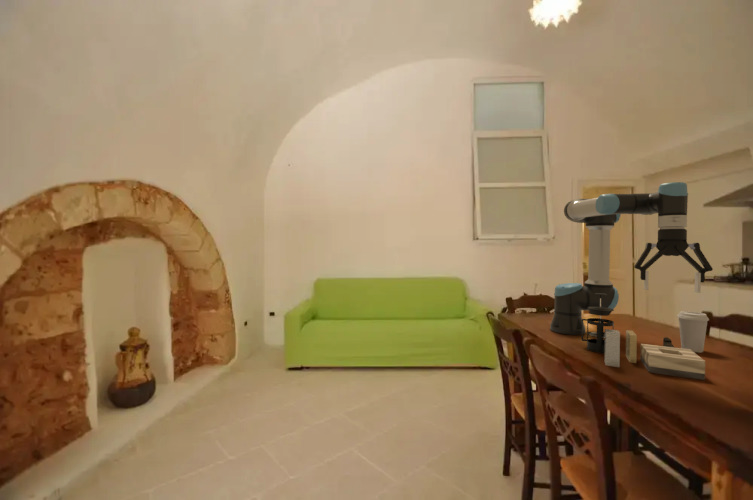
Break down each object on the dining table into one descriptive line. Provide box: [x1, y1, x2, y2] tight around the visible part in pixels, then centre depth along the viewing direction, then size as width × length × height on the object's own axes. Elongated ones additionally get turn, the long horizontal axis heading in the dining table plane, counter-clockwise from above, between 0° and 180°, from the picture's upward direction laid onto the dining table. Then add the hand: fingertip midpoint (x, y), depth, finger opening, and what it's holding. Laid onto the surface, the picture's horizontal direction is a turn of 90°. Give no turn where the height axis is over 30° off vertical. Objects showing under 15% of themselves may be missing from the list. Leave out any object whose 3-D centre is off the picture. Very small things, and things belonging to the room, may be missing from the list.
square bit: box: [603, 328, 621, 368], centre depth 122 cm, size 4×4×12 cm
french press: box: [581, 293, 615, 354], centre depth 139 cm, size 12×9×23 cm
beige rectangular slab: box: [625, 329, 638, 364], centre depth 128 cm, size 8×2×10 cm, turn 152°
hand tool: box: [662, 336, 676, 348], centre depth 136 cm, size 19×4×5 cm, turn 143°
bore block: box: [639, 343, 706, 381], centre depth 118 cm, size 14×14×6 cm
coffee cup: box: [676, 310, 710, 354], centre depth 139 cm, size 10×10×15 cm
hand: (671, 291), depth 117 cm, fingers open, 13 cm apart
